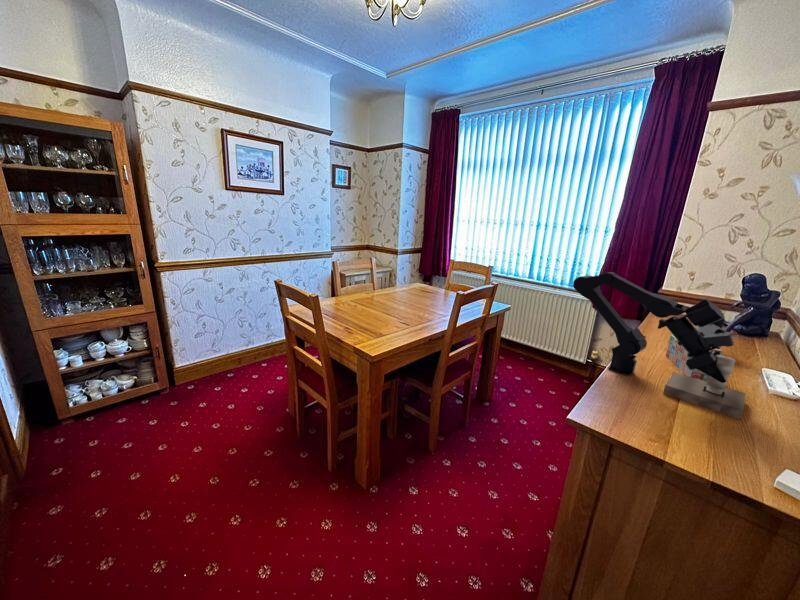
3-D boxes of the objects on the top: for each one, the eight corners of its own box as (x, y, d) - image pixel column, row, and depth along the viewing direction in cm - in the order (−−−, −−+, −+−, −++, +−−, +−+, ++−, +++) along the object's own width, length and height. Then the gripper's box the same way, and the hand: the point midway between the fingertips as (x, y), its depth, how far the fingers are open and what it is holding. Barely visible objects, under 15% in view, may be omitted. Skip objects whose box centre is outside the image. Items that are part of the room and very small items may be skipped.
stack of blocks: (664, 356, 131) (672, 327, 127) (683, 359, 128) (692, 330, 125) (689, 380, 111) (699, 346, 108) (712, 384, 109) (723, 350, 106)
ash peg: (700, 399, 98) (714, 357, 95) (702, 394, 101) (715, 353, 98) (719, 406, 95) (735, 363, 92) (721, 401, 98) (736, 358, 94)
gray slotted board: (662, 393, 101) (665, 384, 100) (671, 380, 110) (673, 372, 109) (740, 419, 89) (743, 410, 88) (742, 402, 98) (745, 393, 97)
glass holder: (691, 351, 137) (701, 317, 133) (684, 341, 149) (693, 309, 145) (719, 356, 132) (730, 321, 129) (709, 345, 144) (719, 313, 140)
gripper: (713, 327, 89) (758, 379, 84) (719, 315, 101) (760, 360, 96) (669, 345, 96) (709, 394, 91) (680, 332, 109) (716, 374, 103)
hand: (725, 380), depth 95 cm, fingers closed on ash peg, 4 cm apart
